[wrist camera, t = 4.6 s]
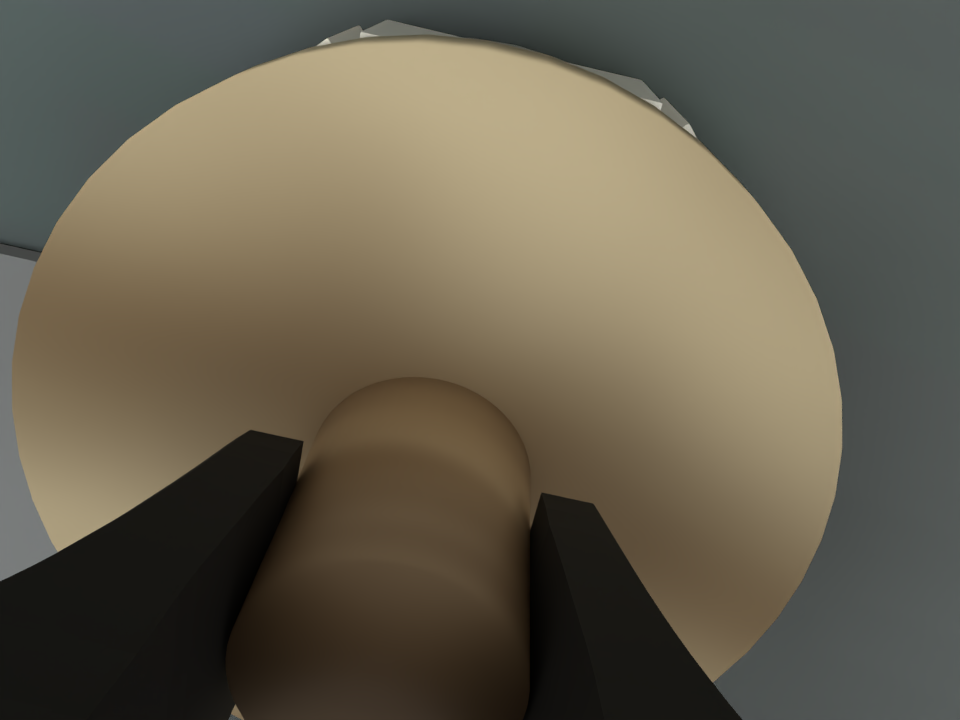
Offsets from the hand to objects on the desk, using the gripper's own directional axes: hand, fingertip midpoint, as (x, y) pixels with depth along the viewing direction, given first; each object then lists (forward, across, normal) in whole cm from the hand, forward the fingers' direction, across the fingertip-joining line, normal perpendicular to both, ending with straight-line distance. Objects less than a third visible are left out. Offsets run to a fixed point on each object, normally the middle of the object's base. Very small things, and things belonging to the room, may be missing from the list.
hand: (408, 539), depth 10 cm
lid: (+2, 0, 0) cm, 2 cm away
